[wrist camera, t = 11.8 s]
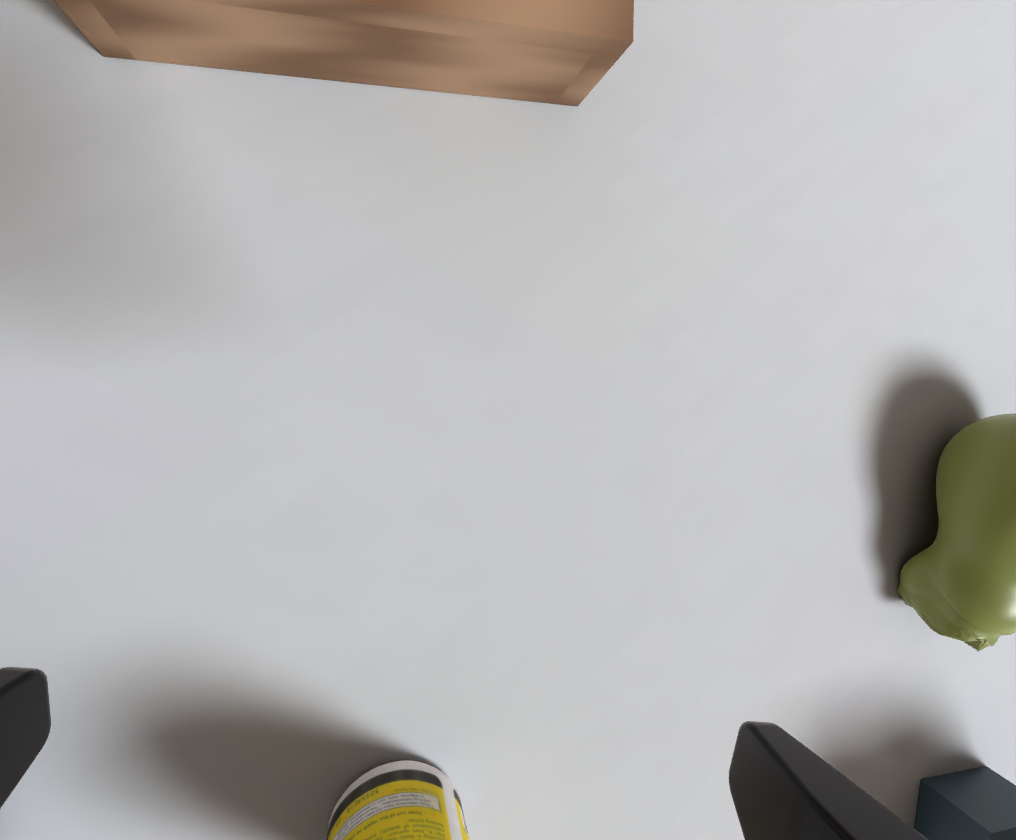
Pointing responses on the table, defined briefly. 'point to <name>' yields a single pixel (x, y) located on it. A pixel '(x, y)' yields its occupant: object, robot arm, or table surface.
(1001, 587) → the pear
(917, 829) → the watch
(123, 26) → the walnut box
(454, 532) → the table surface
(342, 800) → the supplement bottle
